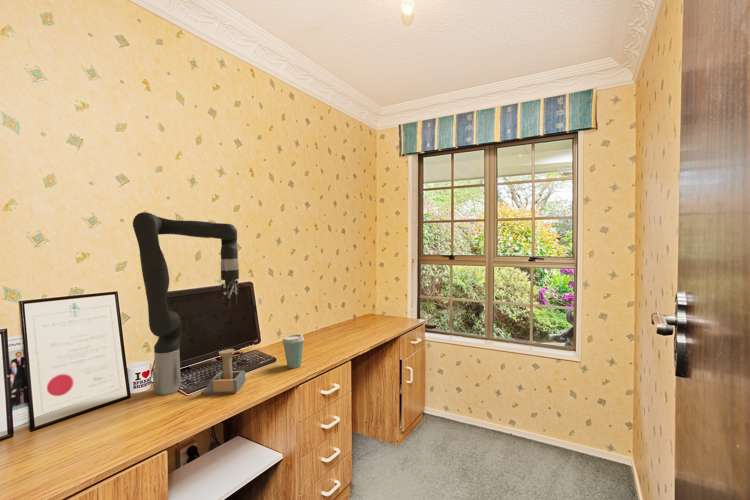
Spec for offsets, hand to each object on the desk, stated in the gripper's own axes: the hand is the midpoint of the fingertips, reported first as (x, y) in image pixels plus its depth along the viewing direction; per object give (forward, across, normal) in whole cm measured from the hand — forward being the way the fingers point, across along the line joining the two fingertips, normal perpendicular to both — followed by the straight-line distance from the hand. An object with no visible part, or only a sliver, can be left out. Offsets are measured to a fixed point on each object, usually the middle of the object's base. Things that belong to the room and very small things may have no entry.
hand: (230, 305), depth 164 cm
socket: (+34, +9, -1) cm, 35 cm away
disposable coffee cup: (+34, -17, +24) cm, 45 cm away
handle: (+33, +9, +1) cm, 34 cm away
